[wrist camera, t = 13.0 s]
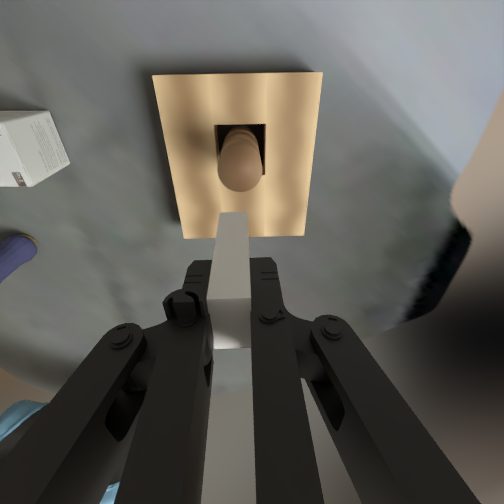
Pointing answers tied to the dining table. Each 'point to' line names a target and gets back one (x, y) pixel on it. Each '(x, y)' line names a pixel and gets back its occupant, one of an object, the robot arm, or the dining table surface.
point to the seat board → (207, 147)
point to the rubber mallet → (15, 253)
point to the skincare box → (29, 148)
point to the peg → (240, 160)
